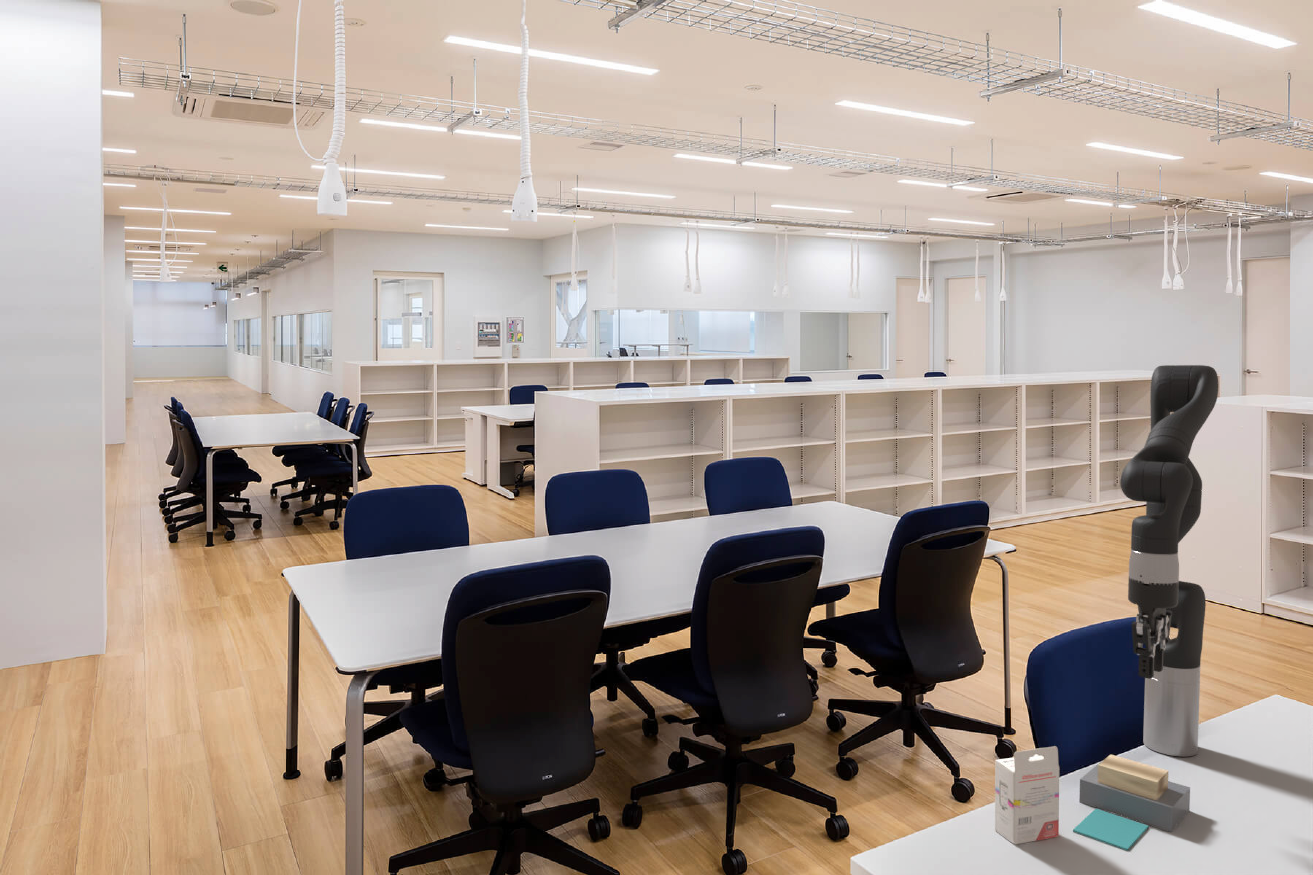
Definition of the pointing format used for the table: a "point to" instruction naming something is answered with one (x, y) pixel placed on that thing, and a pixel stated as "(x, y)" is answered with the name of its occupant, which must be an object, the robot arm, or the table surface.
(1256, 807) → the table surface
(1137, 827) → the teal rubber mat
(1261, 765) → the table surface
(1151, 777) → the maple tile
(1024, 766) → the ink cartridge box
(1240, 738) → the table surface
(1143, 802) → the grey rectangular block
